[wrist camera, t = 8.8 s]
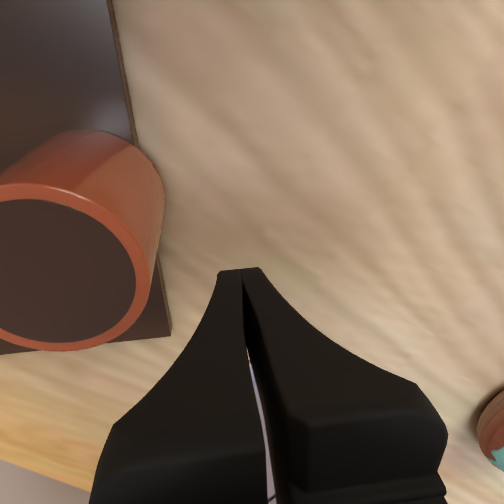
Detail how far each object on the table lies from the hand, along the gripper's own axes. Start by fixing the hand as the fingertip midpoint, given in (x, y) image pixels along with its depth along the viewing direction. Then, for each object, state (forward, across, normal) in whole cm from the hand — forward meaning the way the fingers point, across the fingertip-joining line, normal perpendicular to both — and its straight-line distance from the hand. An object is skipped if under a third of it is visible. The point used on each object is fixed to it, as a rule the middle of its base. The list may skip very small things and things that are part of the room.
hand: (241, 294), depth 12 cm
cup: (+6, +3, 0) cm, 6 cm away
